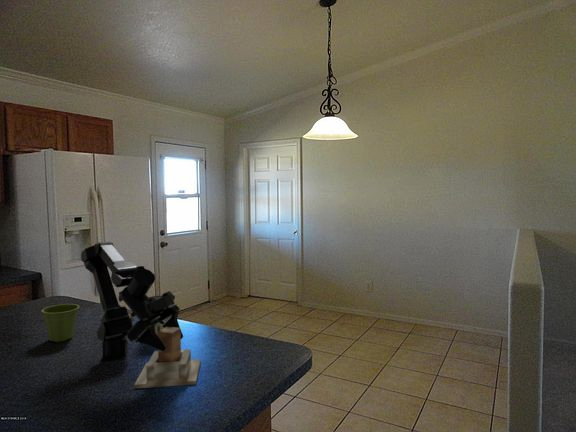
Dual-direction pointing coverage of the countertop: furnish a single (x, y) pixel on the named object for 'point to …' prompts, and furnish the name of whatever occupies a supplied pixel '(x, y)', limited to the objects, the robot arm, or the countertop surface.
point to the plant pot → (60, 321)
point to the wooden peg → (170, 344)
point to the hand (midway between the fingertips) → (173, 343)
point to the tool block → (169, 372)
